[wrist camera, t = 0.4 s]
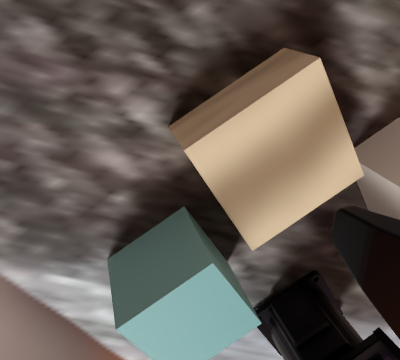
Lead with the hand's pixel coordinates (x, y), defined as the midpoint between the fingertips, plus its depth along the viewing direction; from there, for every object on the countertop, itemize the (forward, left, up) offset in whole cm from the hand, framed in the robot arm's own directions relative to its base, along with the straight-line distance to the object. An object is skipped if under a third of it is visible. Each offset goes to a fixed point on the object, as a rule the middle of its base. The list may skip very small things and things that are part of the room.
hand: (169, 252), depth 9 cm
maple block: (-7, -6, -14) cm, 16 cm away
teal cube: (-11, +3, -13) cm, 17 cm away
